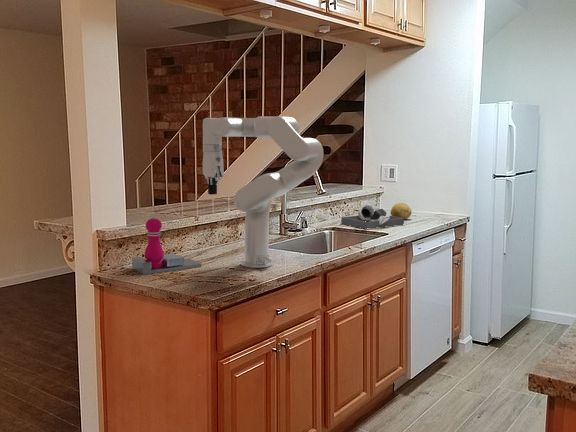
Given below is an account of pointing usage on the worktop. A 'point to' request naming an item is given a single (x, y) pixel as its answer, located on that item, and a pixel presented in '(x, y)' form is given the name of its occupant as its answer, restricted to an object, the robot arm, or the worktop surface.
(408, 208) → the potato
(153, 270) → the vise
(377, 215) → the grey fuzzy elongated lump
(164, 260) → the jaw
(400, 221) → the bucket tray
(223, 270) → the worktop surface
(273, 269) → the worktop surface
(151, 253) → the pepper mill
